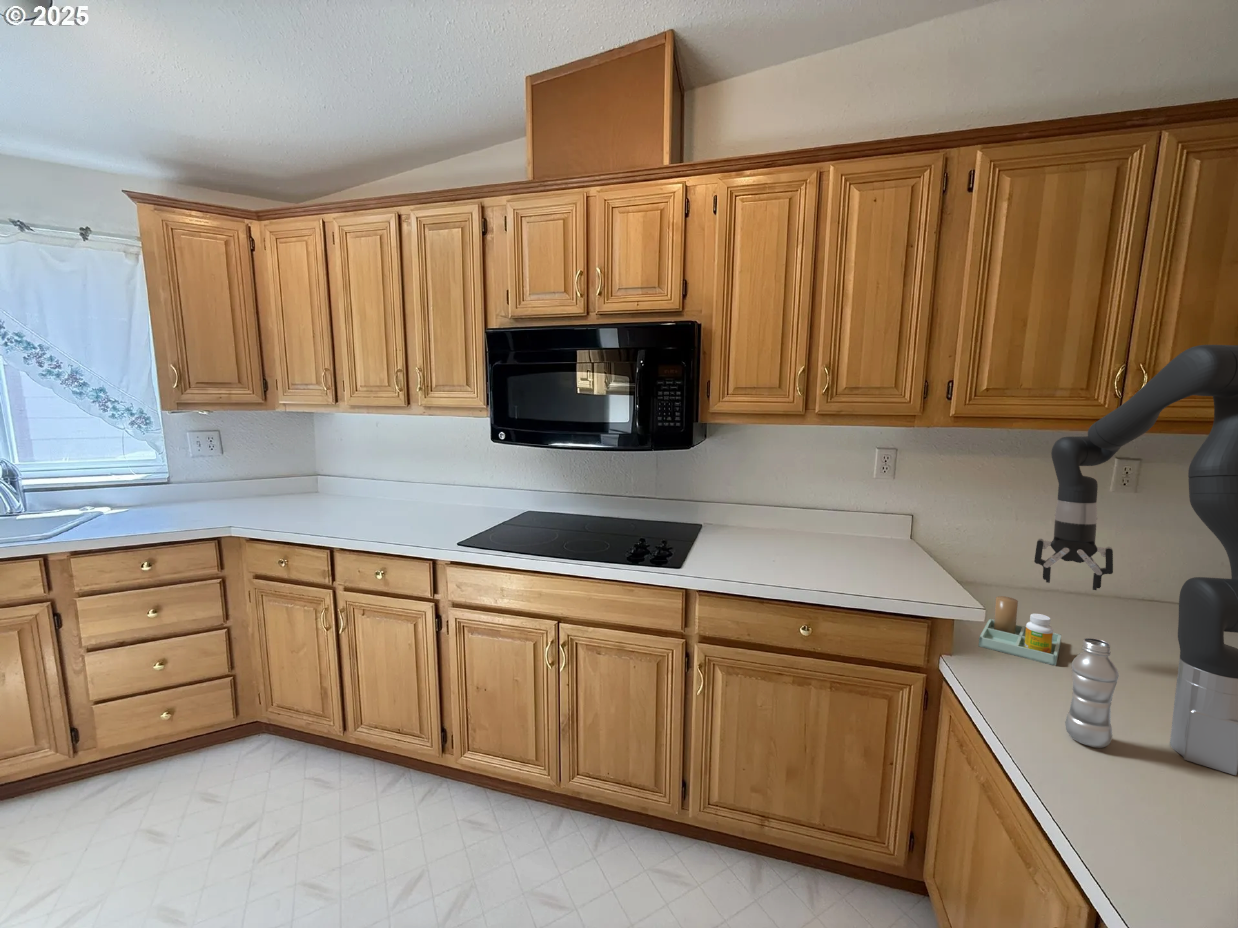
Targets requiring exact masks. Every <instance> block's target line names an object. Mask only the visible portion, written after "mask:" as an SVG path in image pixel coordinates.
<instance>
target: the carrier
mask: <svg viewBox="0 0 1238 928" xmlns="http://www.w3.org/2000/svg"><path fill="white" fill-rule="evenodd" d="M994 621H995V619H993V618H988V621H987V622H986V624H985V626H984V628H983V630H982V632H981V633H980V636H979V637H978V647H981V648H984V649H987V650H992V651H996V652H1000V653H1004V654H1007V655H1012V656H1015V657H1019V658H1022V659H1023V658H1024V659H1027V660H1031V661H1035V662H1039V663H1043V664H1048V665H1050V666H1055V667H1057V663H1058V659H1059V658H1058V657H1059V653H1060V648H1061V643H1062V634H1060V633H1056V632H1053V637H1052V648H1051V654H1049V653H1045V652H1041V651H1037V650H1033V649H1029V648H1025V647H1024V644H1025V632H1026V625H1025V626H1023V625H1019V624H1016V633H1015V634H1012V633H1007V632H1003V631H999V630H994Z"/></svg>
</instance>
